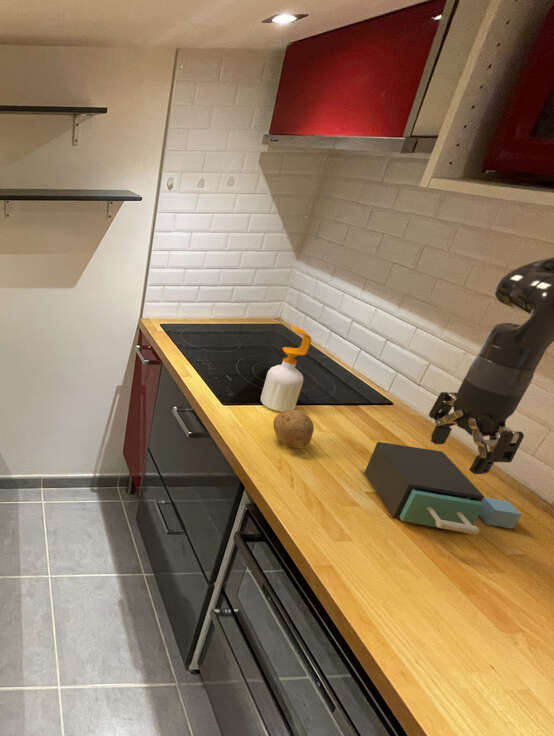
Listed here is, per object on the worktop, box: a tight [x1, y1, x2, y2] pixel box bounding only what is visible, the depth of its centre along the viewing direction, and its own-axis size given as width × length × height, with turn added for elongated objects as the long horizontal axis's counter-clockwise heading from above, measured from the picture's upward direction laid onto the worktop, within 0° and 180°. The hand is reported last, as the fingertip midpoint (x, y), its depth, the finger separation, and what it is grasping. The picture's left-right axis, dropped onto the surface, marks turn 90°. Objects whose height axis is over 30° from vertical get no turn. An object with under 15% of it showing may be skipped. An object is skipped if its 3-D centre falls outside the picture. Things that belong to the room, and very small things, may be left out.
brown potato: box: [273, 409, 315, 449], centre depth 113 cm, size 9×9×10 cm
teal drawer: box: [399, 488, 484, 535], centre depth 92 cm, size 18×11×7 cm, turn 165°
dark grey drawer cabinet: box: [363, 441, 485, 520], centre depth 96 cm, size 14×13×9 cm
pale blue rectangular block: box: [478, 496, 522, 530], centre depth 92 cm, size 4×4×4 cm
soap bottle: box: [260, 325, 312, 413], centre depth 127 cm, size 9×9×25 cm
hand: (455, 457), depth 84 cm, fingers open, 8 cm apart
